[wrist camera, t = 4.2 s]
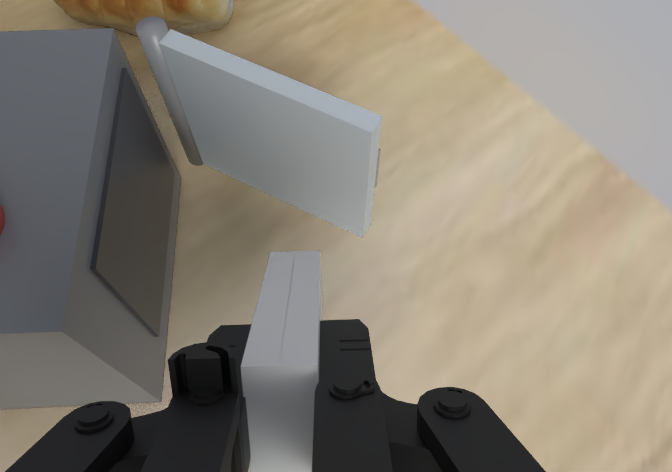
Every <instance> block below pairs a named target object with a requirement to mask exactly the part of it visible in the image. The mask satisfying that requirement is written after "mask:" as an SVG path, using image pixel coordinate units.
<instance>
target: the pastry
mask: <svg viewBox="0 0 672 472" xmlns="http://www.w3.org/2000/svg"><path fill="white" fill-rule="evenodd" d="M54 1H55V2H56V3H57V4H58V5H59V6H60V7H61V8H63V9H64V10H65V11H66V12H67V13H68V14H69V15H70V16H71V17H73V18H74V19H76V20H77V21H80V22H83V23H86V24H88V25H102V26H107V27H109V28H114V29H116V30H121V31H124V32H126V33H128V34H131V35H135V36H138V35H137V33H136V26H137V24H138V22H139V21H141V20H142V19H144V18H146V17H150V16H156V17H160V18H162V19H163V20H164V21H165V23H166V25H167V28H168V31H169V30H170V29H172V30H174V31H177V32H179V33H182V34H191V33H200V32H208V31H212V30H218V29H220V28H222V27H224V26H226V25H227V24H228V23H229V20H230V18H231V15H232V13H233V7H234V5H233V2H234V1H233V0H54Z"/></svg>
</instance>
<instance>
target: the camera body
mask: <svg viewBox="0 0 672 472" xmlns="http://www.w3.org/2000/svg"><path fill="white" fill-rule="evenodd" d="M180 185H181V177H180V175H179V173H178V170H177V168H176V166H175V164H174V161H173V159H172V157H171V155H170V153H169V150H168V148H167V146H166V144H165V141H164V139H163V137H162V135H161V133H160V130H159V128H158V126H157V124H156V121H155V119H154V117H153V115H152V113H151V110H150V108H149V106H148V104H147V101H146V99H145V97H144V95H143V93H142V90H141V88H140V86H139V84H138V81H137V79H136V77H135V75H134V72H133V70H132V68H131V66H130V64H129V61H128V59H127V57H126V55H125V52H124V50H123V48H122V46H121V44H120V41H119V39H118V37H117V35H116V32H115V30H114V28H99V29H69V30H39V31H8V32H0V409H15V408H38V407H61V406H84V405H86V404H89V403H93V402H94V403H95V402H98V401H116V402H120V403H123V404H131V403H154V402H161V400H162V388H163V377H164V366H165V354H166V343H167V332H168V321H169V309H170V298H171V287H172V275H173V264H174V253H175V241H176V230H177V219H178V208H179V196H180Z"/></svg>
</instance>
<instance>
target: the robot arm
mask: <svg viewBox="0 0 672 472" xmlns="http://www.w3.org/2000/svg"><path fill="white" fill-rule="evenodd" d="M168 365H169V372H170V379H171V387H172V394H173V397H172V399H171V402H170V404H169V406H168V408H166V409H164V410H162V411H158V412H155V413H151V414H147V415H143V416H139V417H134V418H131V413H130V409H129V408H128V407H127V406H126V405H125V404H123V403H120V402H116V401H98V402H95V403H94V402H93V403H89V404H86V405H84V406H82V407H80V408H77V409H75V410H73V411H72V412H71V413H69V414H68V415H66V416H65V417H64V418H62V419H61V420H60V421H59V422H58V423H57V424H56V425H55V426H54V427H53V428H52V429H51V430H50V431H48V432H47V433H46V434H45V435H44V436H43V437H42V438H41V439H40V440H39V441H38V442H37V443H36V444H34V445H33V446H32V447H31V448H30V449H29V450H28V451H27V452H26V453H25V454H24V455H23V456H22V457H20V458H19V459H18V460H17V461H16V462H15V463H14V464H13V465H12V466H11V467H10V468H9V469H7V470H6V471H5V472H248V469H249V465H250V472H546V471H545V470H544V469H543V468H542V467H541V466H540V465H539V463H538V462H537V461H536V460H535V459H534V458H533V456H532V455H531V454H530V453H529V452H528V451H527V450H526V448H525V447H524V446H523V445H522V444H521V443H520V441H519V440H518V439H517V438H516V437H515V436H514V435H513V433H512V432H511V431H510V430H509V429H508V428H507V426H506V425H505V424H504V423H503V422H502V421H501V420H500V418H499V417H498V416H497V415H496V414H495V413H494V411H493V410H492V409H491V408H490V407H489V406H488V405H487V403H486V402H485V401H484V400H483V399H481V398H480V397H479V396H478V395H476V394H475V393H472V392H470V391H467V390H465V389H460V388H455V387H444V388H436V389H433V390H430V391H427V392H426V393H425V394H423V395H422V396H421V397H420V399H419V401H418V404H411V403H406V402H402V401H398V400H395V399H393V398H390V397H388V396H387V395H386V394H384V393H383V392H382V391H381V390H380V387H379V385H378V383H377V381H376V378H375V371H374V364H373V357H372V351H371V344H370V337H369V330H368V328H367V327H366V326H365V325H364V324H363V323H362V322H361V321H360V320H359V319H353V320H324V321H323V306H322V281H321V256H320V250H315V251H285V252H270V256H269V260H268V264H267V267H266V271H265V275H264V279H263V283H262V287H261V290H260V294H259V298H258V302H257V306H256V310H255V313H254V317H253V321H252V324H249V325H221V326H220V327H219V328H218V329H216V330H215V331H214V332H213V333H212V334H210V335H209V338H208V340H207V343H199V344H194V345H191V346H187V347H184V348H182V349H180V350H179V351H177V352H175V353H173V355H172V356H171V357H170V358H169V359H168Z"/></svg>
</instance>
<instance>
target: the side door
mask: <svg viewBox="0 0 672 472" xmlns="http://www.w3.org/2000/svg"><path fill="white" fill-rule="evenodd" d="M136 33H137V35H138V37H139V40H140V42H141V45H142V47H143V50H144V52H145V55H146V57H147V60H148V62H149V64H150V67H151V69H152V72H153V74H154V77H155V79H156V82H157V84H158V87H159V89H160V91H161V94H162V96H163V99H164V101H165V104H166V106H167V109H168V111H169V114H170V116H171V118H172V121H173V123H174V126H175V128H176V131H177V133H178V136H179V138H180V141H181V143H182V145H183V148H184V150H185V153H186V155H187V158H188V160H189V162H190V163H191V164H193V165H203V164H204V165H206V166H208V167H210V168H213V169H215V170H217V171H219V172H221V173H223V174H226V175H228V176H230V177H232V178H234V179H236V180H238V181H241V182H243V183H245V184H247V185H249V186H251V187H254V188H256V189H258V190H260V191H262V192H264V193H267V194H269V195H271V196H273V197H275V198H277V199H280V200H282V201H284V202H286V203H288V204H290V205H292V206H295V207H297V208H299V209H301V210H303V211H305V212H308V213H310V214H312V215H314V216H316V217H318V218H321V219H323V220H325V221H327V222H329V223H331V224H334V225H336V226H338V227H340V228H342V229H344V230H346V231H349V232H351V233H353V234H355V235H357V236H359V237H362V238H363V237H364V235H365V234H366V232H367V230H368V228H369V226H370V224H371V215H372V205H373V196H374V189H375V187H376V184H377V175H378V166H379V157H380V149H379V140H380V130H381V121H382V116H381V115H379V114H376V113H374V112H371V111H369V110H366V109H364V108H362V107H359V106H357V105H354V104H352V103H349V102H347V101H345V100H342V99H340V98H337V97H335V96H332V95H330V94H328V93H325V92H323V91H320V90H318V89H315V88H313V87H310V86H308V85H306V84H303V83H301V82H298V81H296V80H293V79H291V78H289V77H286V76H284V75H281V74H279V73H276V72H274V71H272V70H269V69H267V68H264V67H262V66H259V65H257V64H255V63H252V62H250V61H247V60H245V59H242V58H240V57H238V56H235V55H233V54H230V53H228V52H225V51H223V50H221V49H218V48H216V47H213V46H211V45H208V44H206V43H204V42H201V41H199V40H196V39H194V38H191V37H189V36H187V35H184V34H182V33H179V32H177V31H174V30H172V29H170V30H169V31H168V28H167V25H166V23H165V21H164V20H163V19H162V18H160V17H156V16H150V17H146V18H144V19H142V20H141V21H139V22H138V24H137V26H136Z"/></svg>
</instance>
